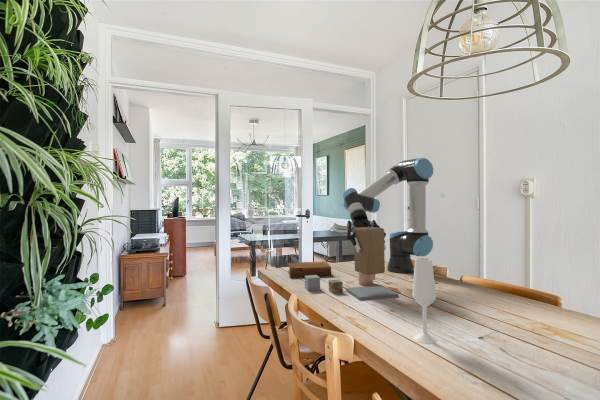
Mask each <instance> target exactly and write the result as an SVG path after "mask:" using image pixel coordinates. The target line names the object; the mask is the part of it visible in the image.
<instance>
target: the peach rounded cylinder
mask: <svg viewBox="0 0 600 400" xmlns="http://www.w3.org/2000/svg"><path fill="white" fill-rule="evenodd" d="M375 280H376V274H372V275H366V274H363V273H360V272H358V285H359V286H361V287H367V286H374V281H375Z"/></svg>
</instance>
